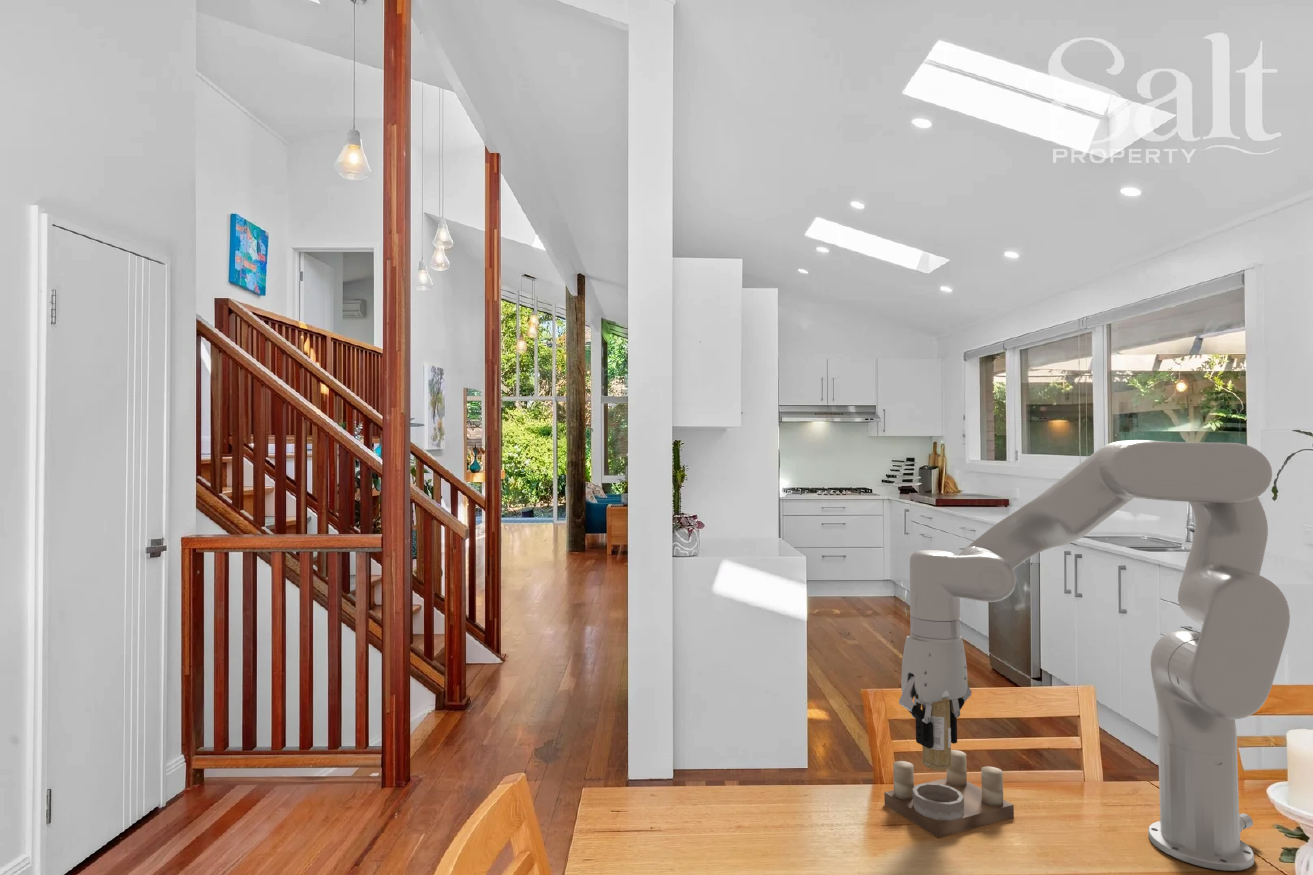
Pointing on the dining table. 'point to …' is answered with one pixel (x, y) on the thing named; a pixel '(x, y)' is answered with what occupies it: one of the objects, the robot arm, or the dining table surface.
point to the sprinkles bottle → (939, 736)
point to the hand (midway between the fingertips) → (936, 741)
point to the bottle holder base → (949, 798)
